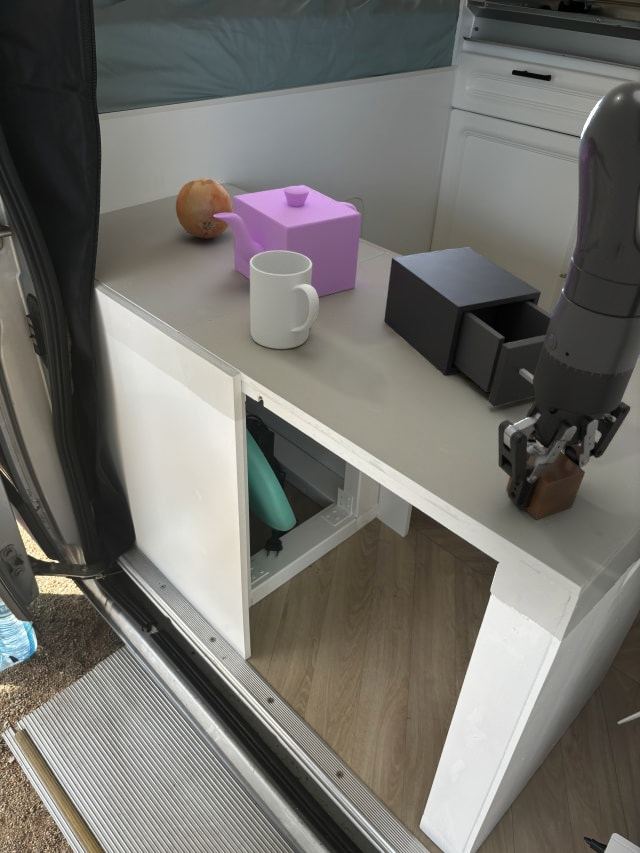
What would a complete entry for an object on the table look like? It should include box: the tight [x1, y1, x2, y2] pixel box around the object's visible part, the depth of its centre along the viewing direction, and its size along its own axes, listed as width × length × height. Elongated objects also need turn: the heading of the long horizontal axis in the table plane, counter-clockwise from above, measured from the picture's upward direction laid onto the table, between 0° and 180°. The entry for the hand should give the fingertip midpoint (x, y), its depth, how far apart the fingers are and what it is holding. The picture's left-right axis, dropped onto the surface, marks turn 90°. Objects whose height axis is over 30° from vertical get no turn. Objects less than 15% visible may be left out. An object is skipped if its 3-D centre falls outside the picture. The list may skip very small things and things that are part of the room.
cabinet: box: [383, 246, 542, 376], centre depth 88 cm, size 16×13×10 cm
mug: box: [249, 250, 320, 350], centre depth 84 cm, size 12×8×10 cm, turn 33°
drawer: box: [452, 300, 552, 407], centre depth 79 cm, size 20×11×8 cm, turn 25°
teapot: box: [213, 184, 362, 298], centre depth 99 cm, size 15×25×14 cm, turn 125°
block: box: [505, 446, 586, 520], centre depth 64 cm, size 5×5×5 cm
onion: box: [175, 177, 233, 239], centre depth 113 cm, size 10×10×10 cm
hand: (539, 495), depth 65 cm, fingers closed on block, 4 cm apart
